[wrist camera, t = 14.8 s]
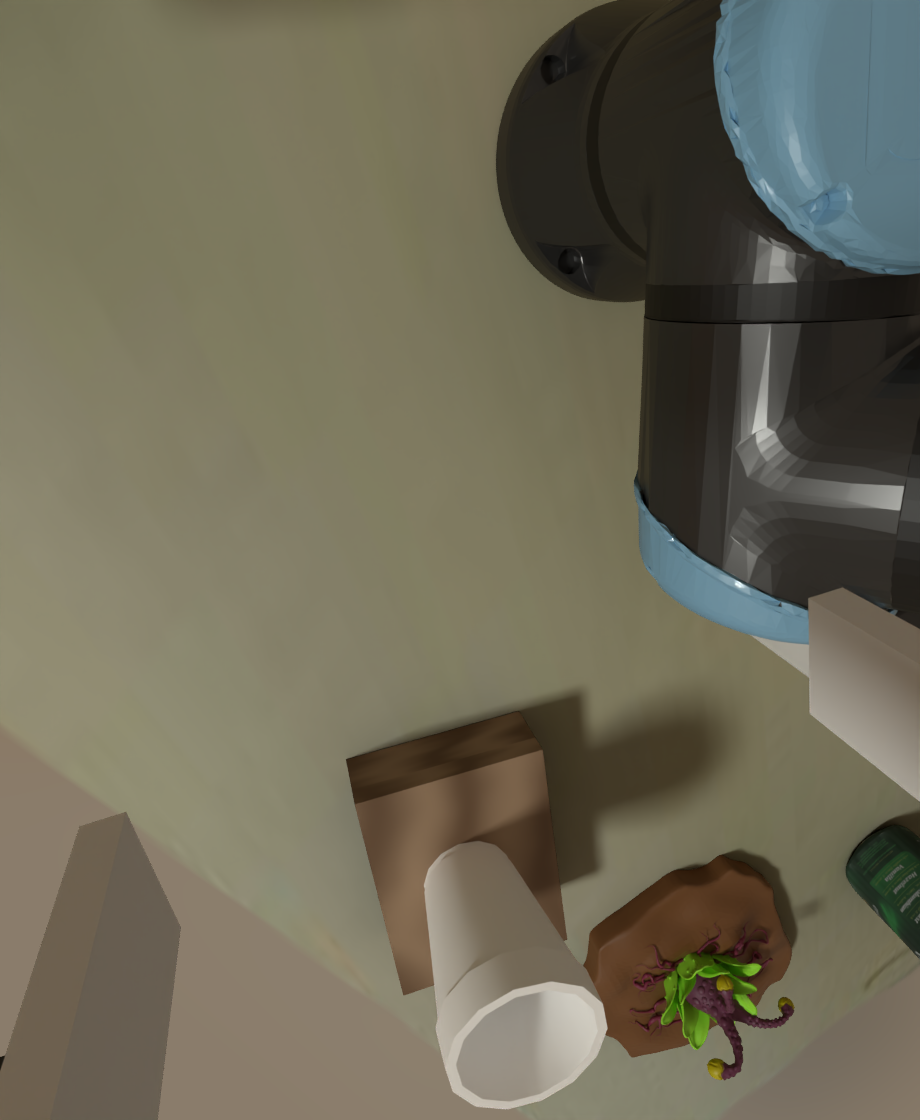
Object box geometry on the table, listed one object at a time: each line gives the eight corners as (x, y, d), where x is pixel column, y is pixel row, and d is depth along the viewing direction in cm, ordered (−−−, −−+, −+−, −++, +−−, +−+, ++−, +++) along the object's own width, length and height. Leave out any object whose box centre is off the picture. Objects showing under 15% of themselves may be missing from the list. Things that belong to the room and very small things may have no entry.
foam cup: (554, 870, 55) (635, 1031, 44) (457, 949, 56) (512, 1130, 44) (478, 799, 51) (546, 955, 40) (375, 884, 52) (411, 1064, 40)
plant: (550, 932, 65) (605, 1054, 55) (746, 827, 67) (835, 926, 57) (615, 1061, 74) (673, 1187, 63) (788, 964, 75) (872, 1072, 65)
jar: (853, 550, 59) (990, 613, 48) (813, 644, 61) (935, 724, 50) (759, 530, 56) (883, 593, 45) (721, 630, 58) (830, 712, 47)
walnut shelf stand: (519, 710, 56) (542, 749, 51) (544, 891, 63) (567, 939, 58) (346, 759, 54) (354, 804, 49) (392, 941, 60) (403, 995, 56)
